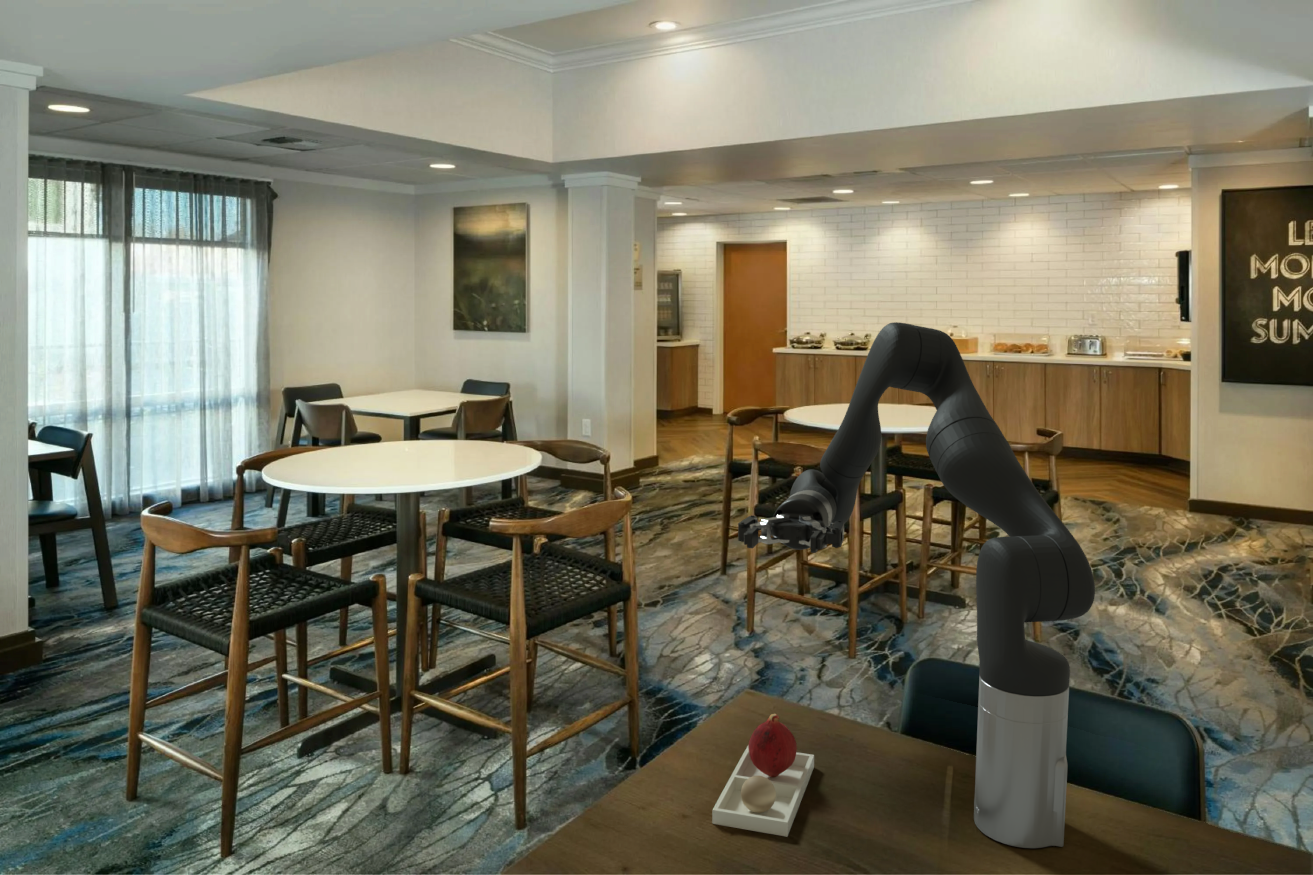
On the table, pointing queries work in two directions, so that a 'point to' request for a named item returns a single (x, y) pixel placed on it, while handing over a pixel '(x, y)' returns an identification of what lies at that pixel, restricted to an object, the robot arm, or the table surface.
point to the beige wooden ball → (758, 794)
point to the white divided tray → (786, 803)
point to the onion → (772, 747)
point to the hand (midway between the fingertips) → (781, 542)
